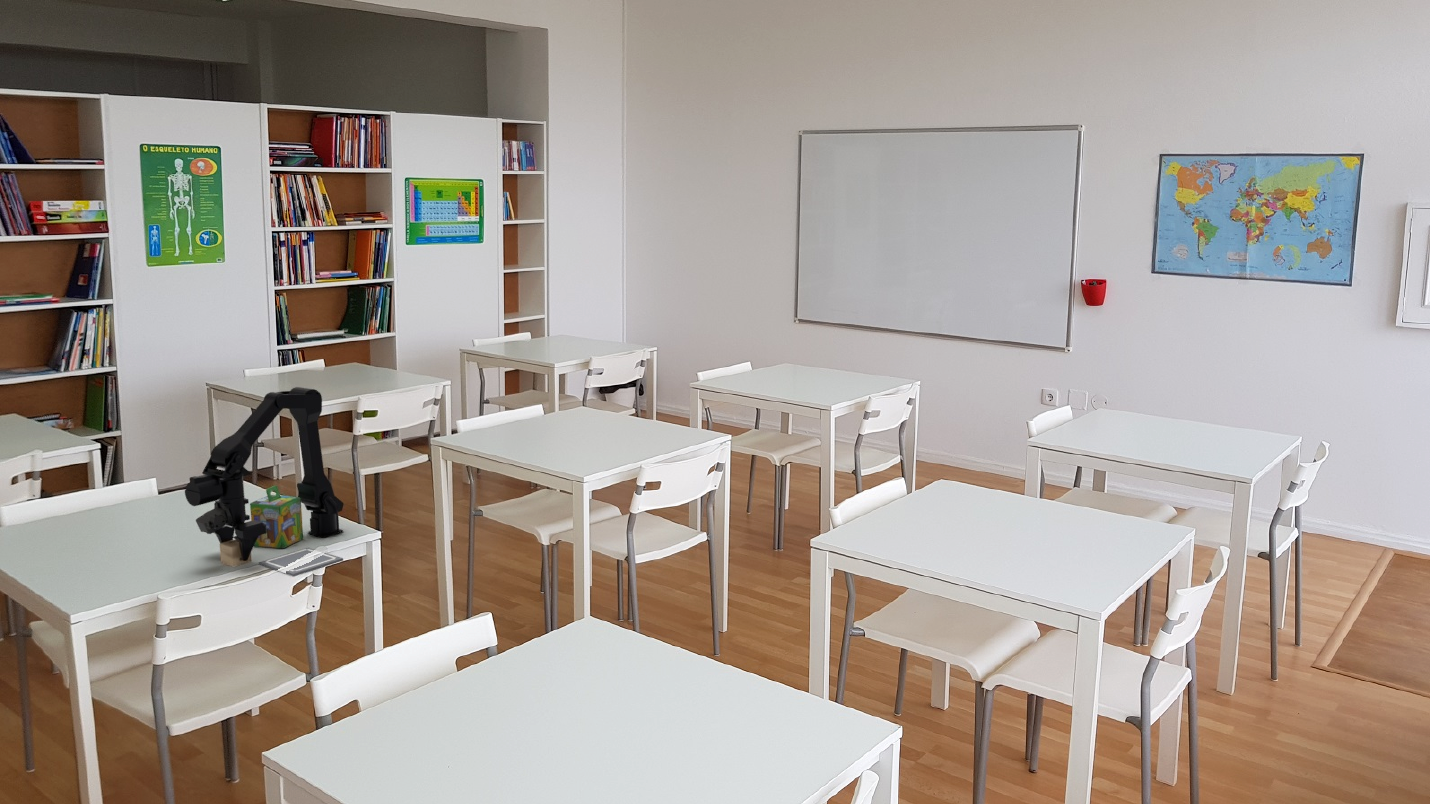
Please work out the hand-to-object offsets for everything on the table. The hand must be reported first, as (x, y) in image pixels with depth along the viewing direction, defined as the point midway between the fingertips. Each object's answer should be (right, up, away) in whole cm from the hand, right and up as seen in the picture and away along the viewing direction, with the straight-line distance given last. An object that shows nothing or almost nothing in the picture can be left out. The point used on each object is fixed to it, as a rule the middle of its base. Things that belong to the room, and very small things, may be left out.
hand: (236, 557), depth 271 cm
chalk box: (+4, +2, +15) cm, 16 cm away
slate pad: (+16, -1, 0) cm, 16 cm away
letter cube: (0, -1, 0) cm, 1 cm away
